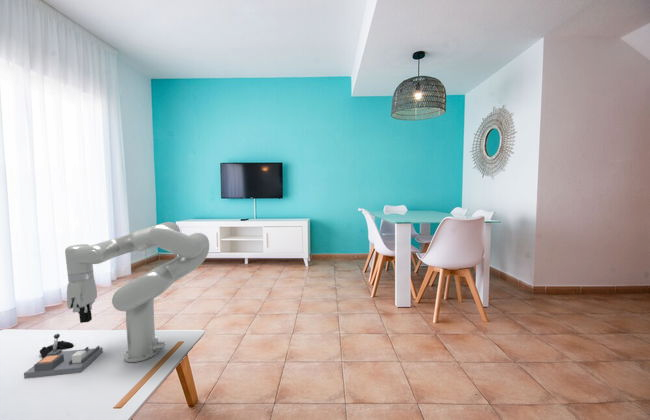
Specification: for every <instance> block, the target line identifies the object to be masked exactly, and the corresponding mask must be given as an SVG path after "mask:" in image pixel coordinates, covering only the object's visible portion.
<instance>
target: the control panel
mask: <svg viewBox="0 0 650 420" xmlns="http://www.w3.org/2000/svg"><path fill="white" fill-rule="evenodd" d="M85 350H86V357H85V358H84V359H82V360H81V363H72V355H73V354H75V353H76V352H77V351H85ZM103 351H104V350H103V347H100V345H98V346H96V347H95V348H89V346H86V347H85V348H84V349H75V350H62V348H60V349H59V350H55V351H53V350H52V351H51V352H50V353H48V354H47V356H56V355H59V357H58V358H57V359H55V360H54V361H53V362H51V363H41V364H38V363H39V362H40V361H42V360H43V359H44V358H46V357H47V356H46V357H43V358H41V359H40V360H38V362H36V363H34V365H33V366H32V367H30V368H29V369H28V370H26V371H25V372H24V373H23V378H24V379H33V378H43V377H51V376H52V377H53V376H58V375H59V376H60V375H69V374H70V375H71V374H78V373H79V374H81V373H82V372H83V371H84V370H85V369H86V368H87V367H89V366H90V365H91V363H93V362H94V361H95V360H96V359H97V358H98V357H99V356H100V355H102V353H103Z"/></svg>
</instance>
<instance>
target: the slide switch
mask: <svg viewBox="0 0 650 420" xmlns="http://www.w3.org/2000/svg"><path fill="white" fill-rule="evenodd" d="M85 357H86V350H85V351H77V352H76V353H75V354H73V355H72V363H81V360H82V359H84V358H85Z"/></svg>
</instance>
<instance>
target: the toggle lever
mask: <svg viewBox="0 0 650 420" xmlns="http://www.w3.org/2000/svg"><path fill="white" fill-rule="evenodd" d="M60 336H61V335H60V333H56V334H54V335H53V338H54V340H53V344H54V346H53V351H55V350H56V348H57V342H58V341H59V338H60Z"/></svg>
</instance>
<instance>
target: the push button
mask: <svg viewBox="0 0 650 420" xmlns="http://www.w3.org/2000/svg"><path fill="white" fill-rule="evenodd" d="M58 357H59V355H56V356H47V357H46V358H44V357H43V358H44V359H43V358H42V359H43V360H42V359H41V360H42V361H40V360H39V361H40V362H39V361H38V362H39V363H38V364H41V363H51V362H53V361H54V360H55V359H57V358H58Z"/></svg>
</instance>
